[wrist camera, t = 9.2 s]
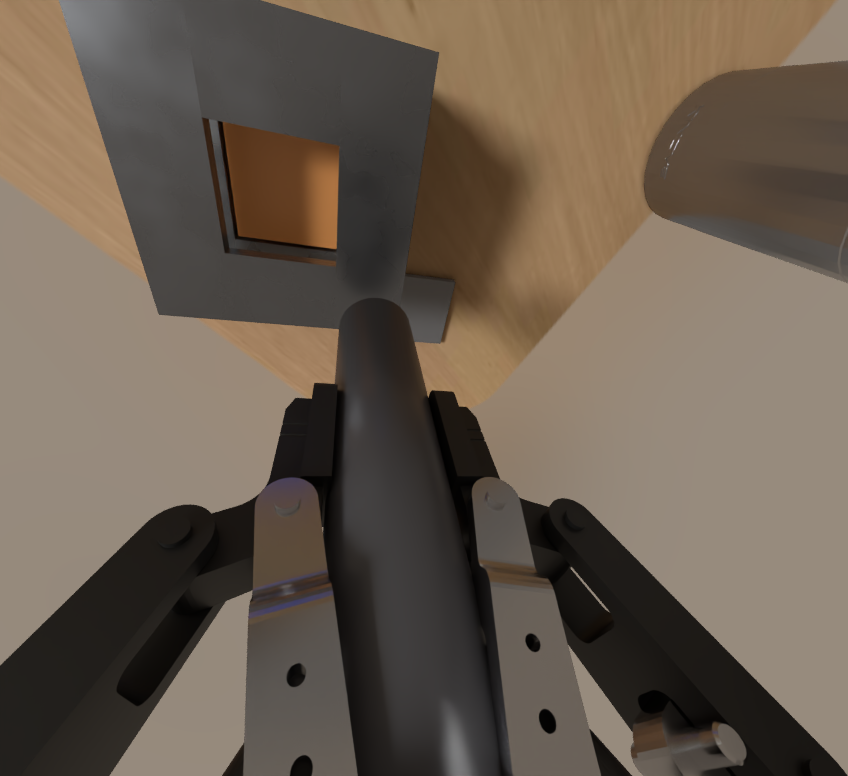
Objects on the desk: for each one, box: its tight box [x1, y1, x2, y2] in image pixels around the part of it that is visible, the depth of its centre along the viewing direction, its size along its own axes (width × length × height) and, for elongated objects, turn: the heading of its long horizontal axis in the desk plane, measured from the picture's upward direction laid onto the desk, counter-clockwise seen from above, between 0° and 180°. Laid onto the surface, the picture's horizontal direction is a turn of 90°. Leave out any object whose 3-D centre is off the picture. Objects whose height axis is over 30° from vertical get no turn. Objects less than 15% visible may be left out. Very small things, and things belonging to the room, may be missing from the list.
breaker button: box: [223, 122, 339, 249], centre depth 19 cm, size 6×6×5 cm
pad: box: [400, 274, 455, 344], centre depth 30 cm, size 6×6×1 cm
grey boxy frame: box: [59, 0, 439, 329], centre depth 19 cm, size 12×12×10 cm
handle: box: [323, 298, 502, 776], centre depth 10 cm, size 3×3×15 cm
